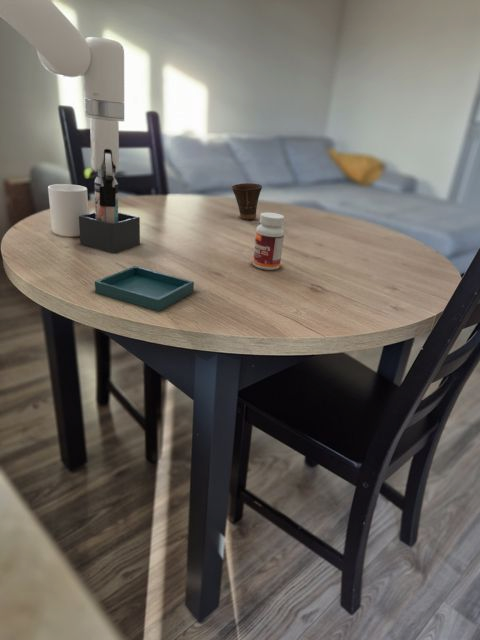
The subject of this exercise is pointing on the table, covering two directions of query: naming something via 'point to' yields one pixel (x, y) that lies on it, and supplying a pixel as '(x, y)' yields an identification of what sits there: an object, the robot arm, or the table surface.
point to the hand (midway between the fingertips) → (106, 202)
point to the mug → (67, 208)
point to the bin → (109, 232)
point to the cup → (247, 199)
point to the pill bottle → (269, 241)
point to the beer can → (101, 211)
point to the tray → (144, 287)
